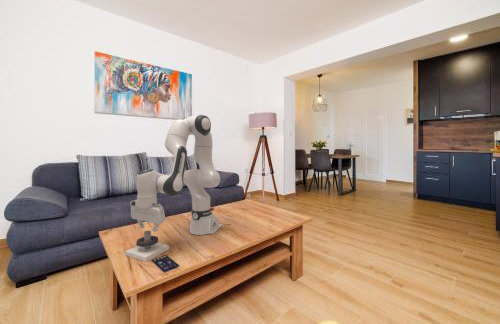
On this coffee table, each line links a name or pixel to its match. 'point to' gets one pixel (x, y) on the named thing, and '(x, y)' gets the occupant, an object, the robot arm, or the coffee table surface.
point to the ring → (141, 242)
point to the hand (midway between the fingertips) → (148, 229)
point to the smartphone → (165, 263)
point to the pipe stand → (147, 249)
